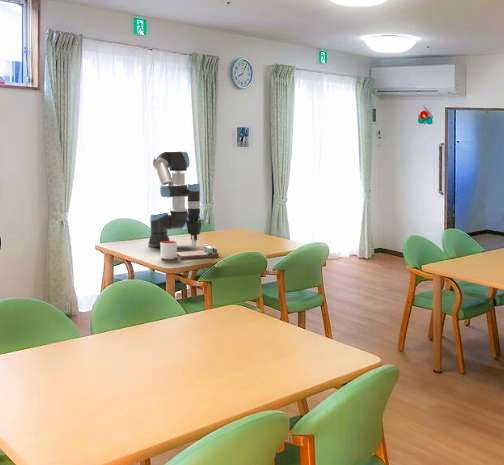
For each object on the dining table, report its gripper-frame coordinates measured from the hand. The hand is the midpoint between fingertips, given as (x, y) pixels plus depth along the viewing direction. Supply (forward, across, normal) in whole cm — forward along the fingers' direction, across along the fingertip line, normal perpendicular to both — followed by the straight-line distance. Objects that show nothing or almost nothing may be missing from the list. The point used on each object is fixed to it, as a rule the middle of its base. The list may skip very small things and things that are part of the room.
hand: (194, 245), depth 388 cm
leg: (+5, +5, +8) cm, 11 cm away
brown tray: (+7, 0, +2) cm, 7 cm away
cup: (+7, -10, -13) cm, 18 cm away
